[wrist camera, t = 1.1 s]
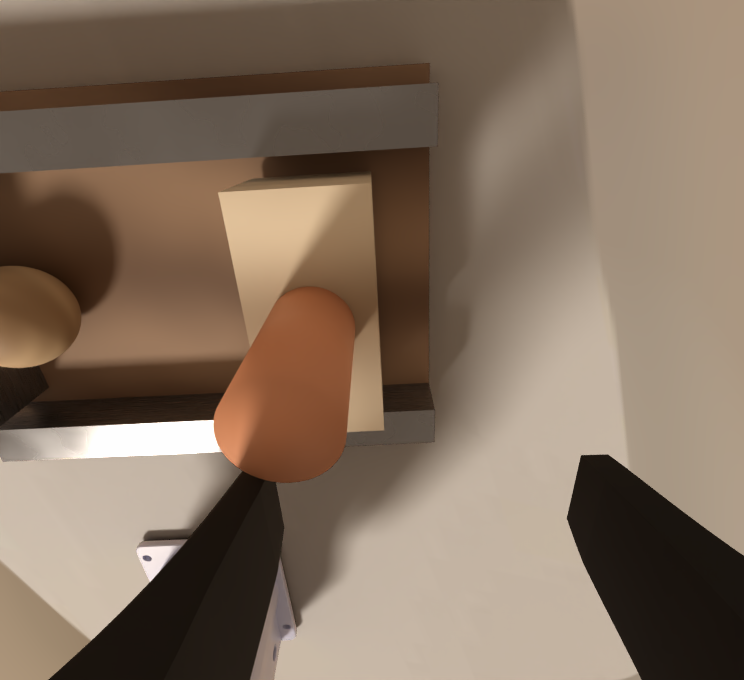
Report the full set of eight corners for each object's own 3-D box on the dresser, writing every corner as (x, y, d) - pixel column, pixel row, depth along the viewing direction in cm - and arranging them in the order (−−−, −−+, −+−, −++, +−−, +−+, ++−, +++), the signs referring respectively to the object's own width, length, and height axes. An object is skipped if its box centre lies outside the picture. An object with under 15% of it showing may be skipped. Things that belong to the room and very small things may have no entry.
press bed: (425, 409, 20) (441, 492, 16) (20, 429, 21) (-81, 514, 16) (425, 67, 14) (451, 37, 10) (-151, 106, 15) (-391, 95, 10)
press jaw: (382, 375, 18) (390, 564, 10) (287, 380, 18) (222, 570, 10) (371, 171, 14) (370, 219, 6) (252, 178, 14) (113, 234, 7)
